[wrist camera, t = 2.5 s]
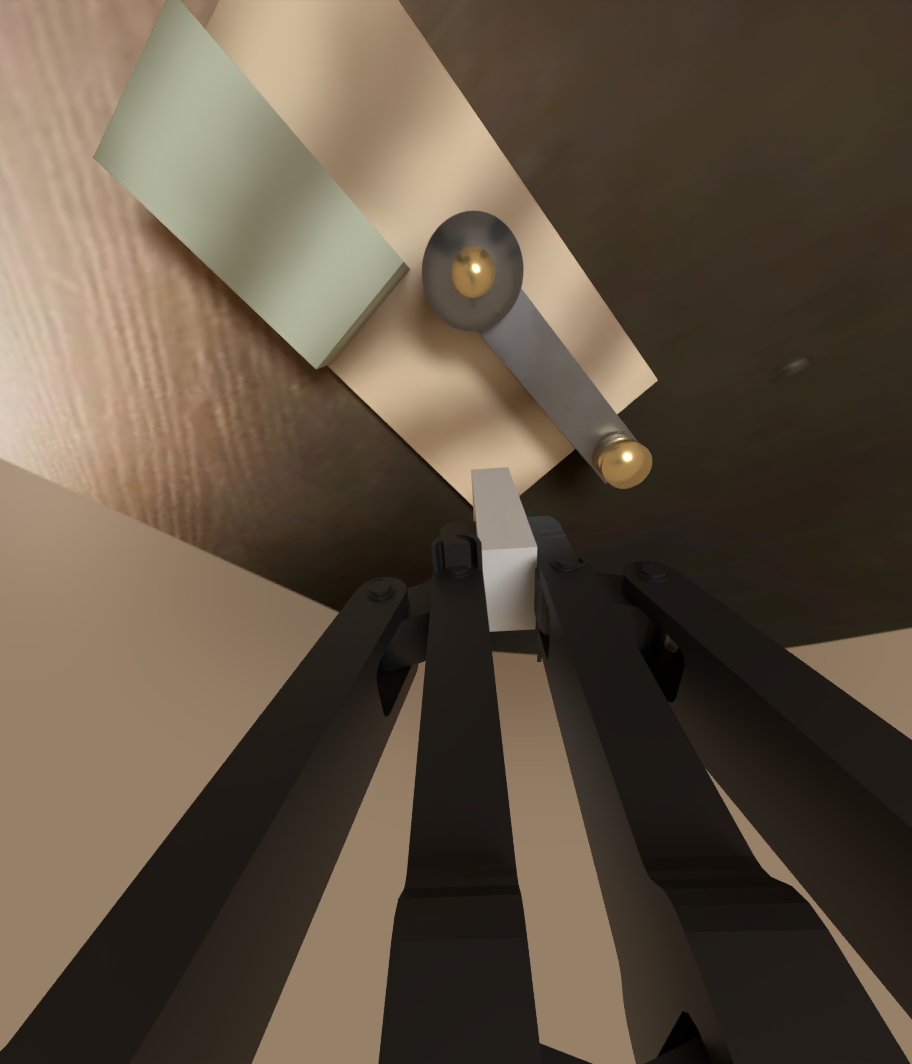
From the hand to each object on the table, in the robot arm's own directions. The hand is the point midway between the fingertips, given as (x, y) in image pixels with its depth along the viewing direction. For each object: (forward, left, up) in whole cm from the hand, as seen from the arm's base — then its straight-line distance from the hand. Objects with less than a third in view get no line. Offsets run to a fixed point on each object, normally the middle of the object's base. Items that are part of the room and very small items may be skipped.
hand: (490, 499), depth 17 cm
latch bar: (-1, +5, -9) cm, 10 cm away
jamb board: (-8, +3, -10) cm, 13 cm away
